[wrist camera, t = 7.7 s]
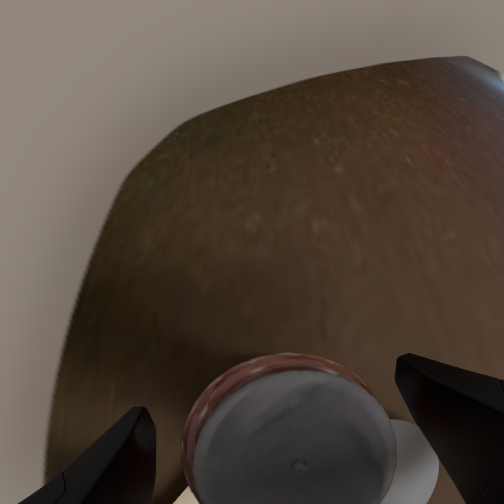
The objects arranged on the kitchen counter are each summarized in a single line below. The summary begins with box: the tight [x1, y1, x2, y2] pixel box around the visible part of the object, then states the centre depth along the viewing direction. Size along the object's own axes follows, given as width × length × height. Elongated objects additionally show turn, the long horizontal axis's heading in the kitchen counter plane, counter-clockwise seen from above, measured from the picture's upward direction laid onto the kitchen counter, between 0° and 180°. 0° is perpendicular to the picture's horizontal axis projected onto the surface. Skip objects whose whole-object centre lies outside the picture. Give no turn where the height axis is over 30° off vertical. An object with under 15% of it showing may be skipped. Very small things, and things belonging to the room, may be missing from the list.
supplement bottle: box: [180, 352, 397, 504], centre depth 9 cm, size 6×6×11 cm
